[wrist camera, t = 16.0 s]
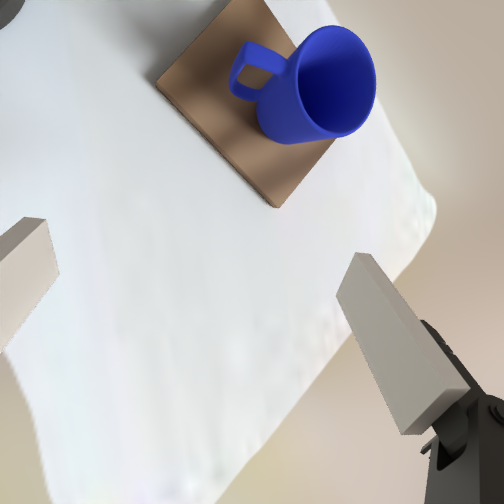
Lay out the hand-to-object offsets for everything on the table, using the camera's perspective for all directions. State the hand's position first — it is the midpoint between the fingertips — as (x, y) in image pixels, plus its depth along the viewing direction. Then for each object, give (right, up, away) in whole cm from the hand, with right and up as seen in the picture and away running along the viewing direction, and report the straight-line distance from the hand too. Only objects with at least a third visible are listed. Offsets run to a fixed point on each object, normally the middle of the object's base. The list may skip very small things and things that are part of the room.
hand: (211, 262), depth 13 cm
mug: (+3, +16, +19) cm, 25 cm away
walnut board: (+3, +17, +20) cm, 26 cm away
